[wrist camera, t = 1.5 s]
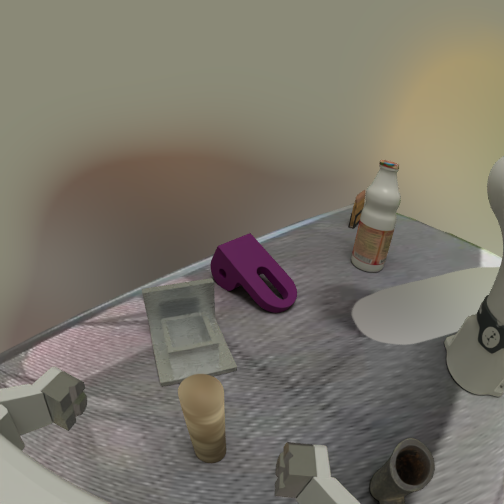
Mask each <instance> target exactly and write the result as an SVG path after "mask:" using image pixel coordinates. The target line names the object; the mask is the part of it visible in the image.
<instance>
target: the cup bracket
mask: <svg viewBox="0 0 504 504" xmlns="http://www.w3.org/2000/svg"><path fill="white" fill-rule="evenodd" d="M142 293H143V298H144V303H145V308H146V313H147V317H148V322H149V326H150V331H151V337H152V343H153V348H154V354H155V359H156V364H157V369H158V374H159V378H160V383H161V386H162V387H163V386H168V385H174V384H179V383H181V382H182V381H183V380H184V379H186V378H187V377H189V376H192V375H195V374H207V375H210V376H217V375H221V374H225V373H230V372H234V371H237V366H236V363H235V361H234V359H233V357H232V355H231V353H230V350H229V348H228V346H227V344H226V342H225V340H224V337H223V335H222V333H221V331H220V328H219V326H218V324H217V322H216V319H215V303H214V281H213V279H212V278H210V279H204V280H198V281H191V282H185V283H179V284H172V285H166V286H159V287H152V288H146V289H142Z"/></svg>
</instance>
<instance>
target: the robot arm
mask: <svg viewBox="0 0 504 504" xmlns="http://www.w3.org/2000/svg"><path fill="white" fill-rule="evenodd" d="M487 192H488V199H489V203H490V205H491V208H492V210H493V212H494V214H495V216H496V218H497V220H498V222H499V225H500V228H501V231H502V237H503V257H502V262H501V266H500V269H499V272H498V275H497V277H496V280H495V282H494V285H493V287H492V289H491V291H490V294H489V295H487V296H486V297H485V299H484V301H483V302H482V303H481V305H480V308H479V310H478V312H477V314H476V315H471V316H468V317H467V318H466V320H465V322H464V323H463V325H462V326H461V328H460V330H459V331H458V333H457V334H455V335H452V336H449V337H447V338H446V340H445V341H444V344H445V347H446V350H447V358H446V360H447V366H448V369H449V371H450V373H451V375H452V377H453V378H454V380H455V381H456V382H457V383H458V384H459V385H460V386H461V387H462V388H464V389H465V390H467V391H469V392H471V393H473V394H477V395H487V394H490V395H493V396H496V397H500V396H501V395H502V394H503V392H504V156H503V157H502V158H500V159H499V160H498V161H497V162H496V163H495V164H494V166H493V167H492V169H491V171H490V174H489V178H488V184H487ZM84 389H85V385H84V382H82V381H80V380H78V379H77V378H75V377H73V376H71V375H69V374H67V373H66V372H64V371H62V370H60V369H58V368H57V367H51V368H50V369H49V370H48V371H47V372H46V373H45V374H44V375H42V376H41V377H40V378H39V379H38V380H37V381H36V382H35V383H34V384H32V385H30V384H26V385H21V386H15V387H10V388H4V389H0V504H112V503H110V502H107V501H105V500H103V499H101V498H99V497H97V496H95V495H93V494H91V493H89V492H87V491H85V490H83V489H81V488H79V487H78V486H76V485H74V484H72V483H70V482H69V481H67V480H65V479H63V478H62V477H60V476H58V475H57V474H55V473H54V472H52V471H50V470H49V469H47V468H46V467H44V466H43V465H41V464H40V463H38V462H37V461H35V460H34V459H33V458H31V457H30V456H28V455H27V454H26V453H24V452H23V451H22V450H23V449H24V447H25V445H24V442H23V441H22V439H21V437H20V435H23V434H26V433H29V432H31V431H34V430H37V429H39V428H42V427H45V426H47V425H50V424H52V423H55V424H57V425H58V426H60V427H62V428H64V429H66V430H68V431H69V430H70V429H71V428H72V426H73V425H74V424H75V423H76V417H77V416H80V415H82V414H83V412H84V411H85V408H86V406H87V396H86V395H85V393H84V392H83V390H84ZM275 474H276V476H277V477H278V479H277V480H276V482H275V496H278V497H288V498H296V500H297V502H298V503H299V504H360V503H359V502H358V501H357V500H356V499H355V498H354V497H353V496H352V495H351V494H350V493H349V492H348V491H347V490H346V489H345V488H344V487H343V486H342V485H341V484H340V483H339V482H338V480H337V479H336V478H332V477H331V472H330V465H329V459H328V452H327V447H326V446H322V445H312V444H301V443H291V442H287V443H286V444H285V446H284V452H283V453H281V454H280V455H279V457H278V460H277V463H276V471H275Z"/></svg>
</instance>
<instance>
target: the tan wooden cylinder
mask: <svg viewBox="0 0 504 504" xmlns="http://www.w3.org/2000/svg"><path fill="white" fill-rule="evenodd" d="M178 395H179V399H180V403H181V407H182V410H183V414H184V417H185V421H186V424H187V428H188V431H189V434H190V438H191V441H192V444H193V447H194V450H195V453H196V456H197V457H198V458H199V459H200V460H202V461H203V462H206V463H216V462H218V461H220V460H222V459H223V458H224V456H225V454H226V439H225V413H224V389H223V386H222V384H221V383H220V382H219V380H217V379H216V378H215V377H213V376H210V375H207V374H195V375H192V376H189V377H187V378H186V379H184V380H183V381H182V382H181V384H180V386H179V389H178Z"/></svg>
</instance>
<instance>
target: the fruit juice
mask: <svg viewBox="0 0 504 504" xmlns="http://www.w3.org/2000/svg"><path fill="white" fill-rule="evenodd" d="M398 169H399V165H398V164H397V163H394V162H391V161H386V160H380V170H379V172H378V174H377V176H376V178H375V179H374V181H373V182H372V184H371V185H370V186H369V187H368V188H367V191H366V204H365V206H364V208H363V210H362V213H361V217H360V222H359V226H358V231H357V235H356V239H355V244H354V248H353V252H352V257H351V261H352V263H353V264H354V265H355V266H356V267H357V268H359V269H361V270H363V271H367V272H378V271H380V270H381V269H382V268H383V266H384V263H385V260H386V257H387V253H388V250H389V246H390V243H391V239H392V236H393V232H394V228H395V224H396V211H397V209H398V207H399V205H400V201H401V200H400V199H401V196H400V193H399V189H398V182H397V172H398Z"/></svg>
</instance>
